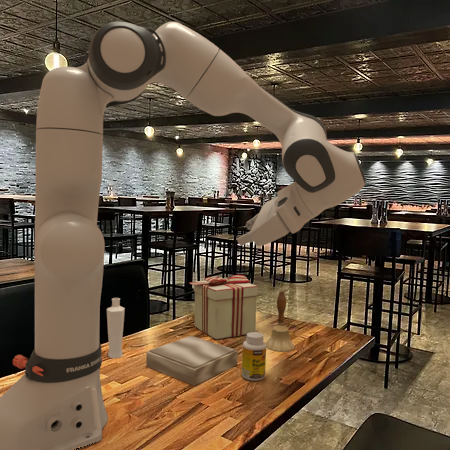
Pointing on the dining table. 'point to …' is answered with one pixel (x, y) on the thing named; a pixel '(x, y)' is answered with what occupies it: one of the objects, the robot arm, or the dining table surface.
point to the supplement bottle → (254, 357)
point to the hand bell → (280, 329)
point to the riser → (192, 359)
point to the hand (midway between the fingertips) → (243, 233)
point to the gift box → (225, 306)
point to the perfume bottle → (115, 328)
